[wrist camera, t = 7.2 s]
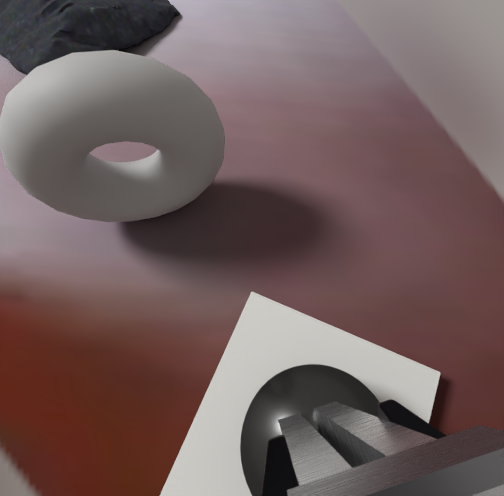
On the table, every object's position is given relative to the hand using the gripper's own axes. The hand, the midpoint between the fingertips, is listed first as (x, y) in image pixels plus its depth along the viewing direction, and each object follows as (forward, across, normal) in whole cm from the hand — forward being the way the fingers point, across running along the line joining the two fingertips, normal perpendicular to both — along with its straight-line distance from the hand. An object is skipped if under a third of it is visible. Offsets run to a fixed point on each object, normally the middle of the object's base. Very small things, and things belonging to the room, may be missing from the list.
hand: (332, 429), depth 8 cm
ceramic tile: (+6, 0, +7) cm, 9 cm away
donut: (+16, +5, -3) cm, 17 cm away
